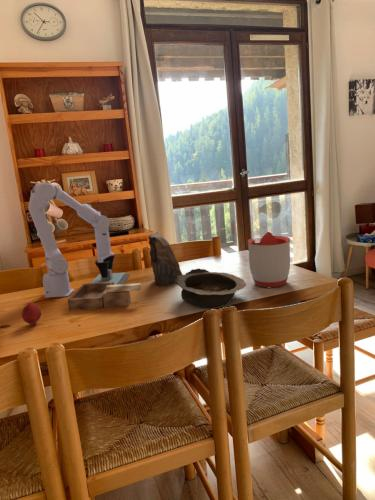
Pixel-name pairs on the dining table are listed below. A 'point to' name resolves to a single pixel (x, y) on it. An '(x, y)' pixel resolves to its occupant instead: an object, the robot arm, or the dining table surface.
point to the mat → (124, 279)
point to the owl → (163, 261)
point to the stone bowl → (208, 287)
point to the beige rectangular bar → (123, 287)
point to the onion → (31, 313)
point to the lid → (110, 278)
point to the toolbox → (97, 297)
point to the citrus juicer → (269, 260)
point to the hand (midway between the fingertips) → (107, 274)
